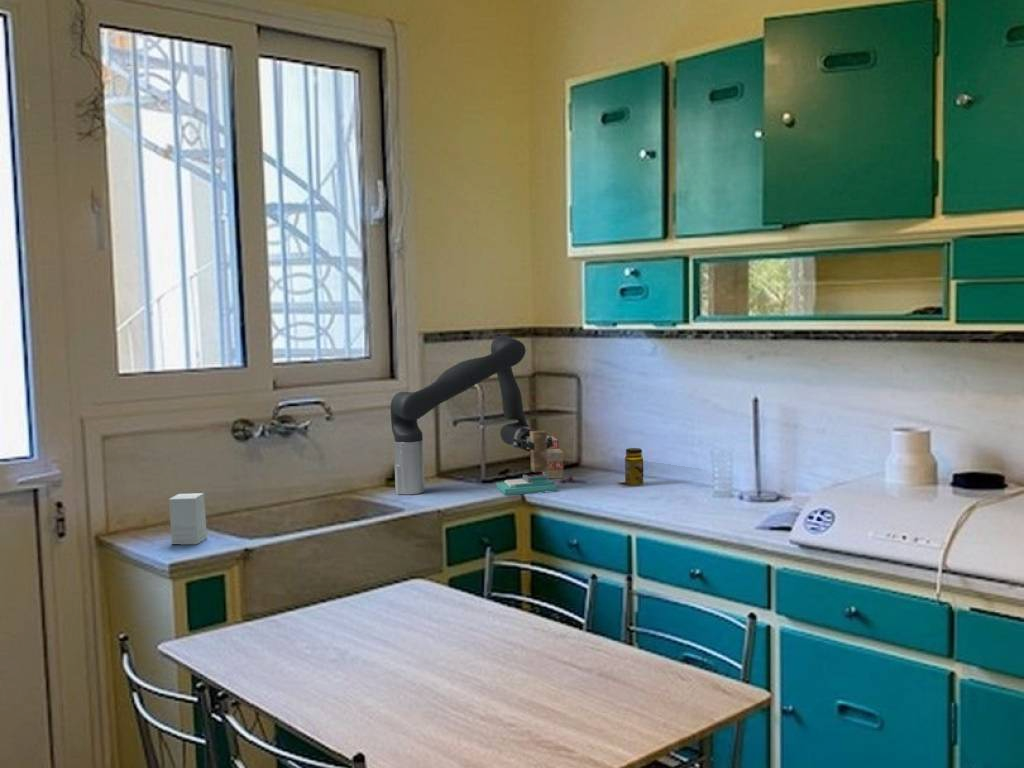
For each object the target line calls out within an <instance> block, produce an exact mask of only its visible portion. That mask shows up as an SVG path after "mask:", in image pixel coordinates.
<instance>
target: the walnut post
mask: <svg viewBox="0 0 1024 768" xmlns="http://www.w3.org/2000/svg"><path fill="white" fill-rule="evenodd" d="M547 436H548V435H547V431H545V430H543V429H542V430H535V431H530V442H532V443H534V450H531V449H530V452H529V453H530V454H529V456H530V471H531V472H533V473H540V472H546V471H548V468H547Z"/></svg>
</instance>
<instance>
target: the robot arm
mask: <svg viewBox="0 0 1024 768" xmlns="http://www.w3.org/2000/svg"><path fill="white" fill-rule="evenodd" d="M490 345H491V346H490V353H489V354H488V355H485V356H481V357H480V356H479V357H476V358H475V357H474V358H471V359H470V358H469V359H467V360H463V361H460V362H458V363H456V364H455V365H453V366H450V367H449V368H448V369H446V370H445V371H443V372H442V373H441V374H440V375H439V376H438V377H437V378H436V379H435V381H433V382H432V383H431V384H429V385H428V386H426V387H423V388H421V389H419V390H416V391H413V392H410V391H399V392H397V393H395V394H394V396H393V397H392V399H391V401H390V410H389V411H390V422H391V423H390V424H391V431H392V434H393V437H394V439H393V440H394V457H395V458H394V459H395V461H394V486H395V487H394V488H395V492H396V494H397V495H417V494H422V493H424V492H425V471H424V469H425V468H424V467H425V466H424V439H423V432H422V430H421V429H420V427H419V425H418V420H419V419H420V418H422V417H424V416H425V415H426V414H428V413H429V412H430V411H432V410H433V409H434V408H436V407H437V406H439V405H440V404H442V403H444V402H447V401H448V400H450V399H452V398H454V397H456V396H458V395H460V394H462V393H464V392H466V391H468V390H469V389H471V388H473V387H474V386H476V385H477V384H479V383H481V382H483V381H484V380H485V381H486V380H487V379H488V378H490V377H492V376H493V375H495V374H496V375H497V380H498V384H499V389H500V395H501V402H502V411H503V416H504V418H505V419H507V420H513V421H516V420H517V422H511V423H506V424H504V425H502V427H501V429H500V431H499V433H500V434H499V435H500V437H501V440H502V441H503V443H505V444H507V445H512V446H513V448H517V449H520V450H524V451H525V452H529V453H530V449H531V450H534V443H532V442H530V431H536V430H535V429H533V428H531V427H530V426H529V424H528V421H527V420H526V417H525V414H524V407H523V398H522V393H521V389H520V387H519V385H518V383H517V382H518V381H517V380H516V377H515V374H514V372H513V368H512V367H514V366H517V365H518V364H519V363H520V362H521V361H522V360H523V359H524V357H525V356H526V351H527V349H526V346H525V345H524V343H523V342H522V341H520V340H518V339H516V338H513V337H510V336H508V335H498V336H496V337H495V338H494V339H493V341H492V342H491V344H490ZM549 447H552V437H549V438H547V449H549Z"/></svg>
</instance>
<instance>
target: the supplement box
mask: <svg viewBox="0 0 1024 768" xmlns="http://www.w3.org/2000/svg"><path fill="white" fill-rule="evenodd" d="M205 503H206V502H205V493H204V492H202V493H200V492H199V493H194V492H193V493H177V494H176V495H174V496H172V497H170V498H169V499H168V506H169V522H170V523H169V524H170V534H171V545H172V544H181V545H199V544H200V543H202V542H203V541H205V540H206V539H208V536H207V535H208V532H207V521H206V519H207V518H206V505H205ZM201 541H202V542H201ZM198 543H199V544H198Z"/></svg>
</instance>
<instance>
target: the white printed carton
mask: <svg viewBox="0 0 1024 768" xmlns="http://www.w3.org/2000/svg"><path fill="white" fill-rule="evenodd" d="M549 437H552V447H549V449H547V468H548V471H546V472H542V474H541V475H542V476H543V477H544V476H545V477H547V478H554V479H564V458H565V456H564V455H565V454H564V451H563V450H561V449H560V448H559V447H560V446H559V443H560V442H559V439H557V438H556V437H554V436H553V435H549V436H548V435H547V438H549Z"/></svg>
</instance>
